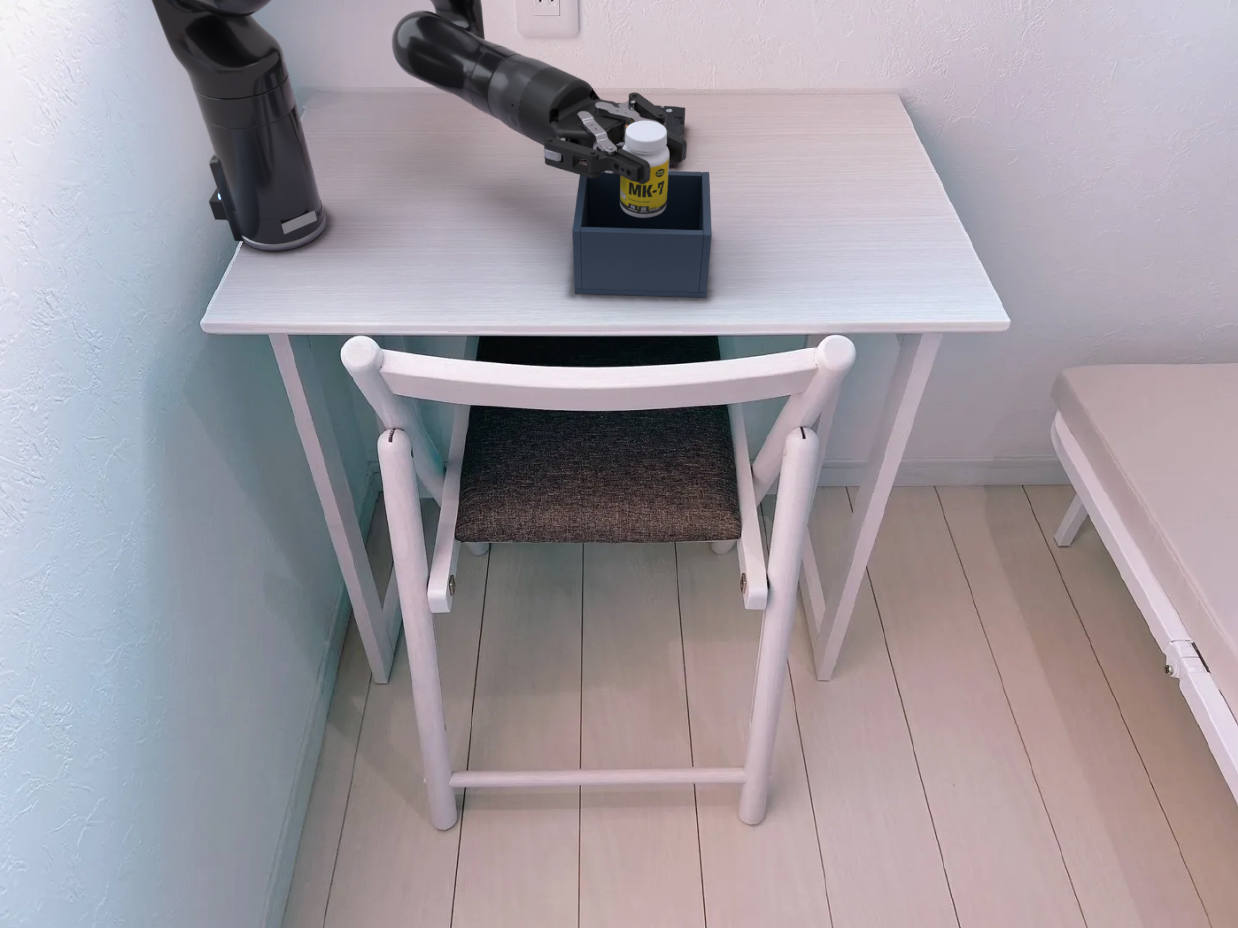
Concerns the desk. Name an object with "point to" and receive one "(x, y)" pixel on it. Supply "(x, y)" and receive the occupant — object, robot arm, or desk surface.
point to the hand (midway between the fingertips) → (665, 163)
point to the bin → (642, 239)
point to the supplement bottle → (651, 147)
